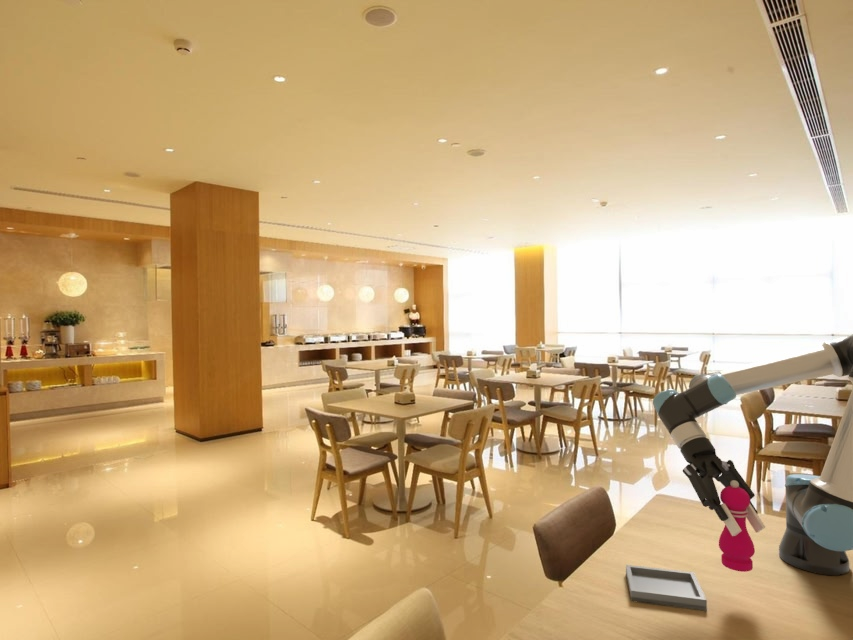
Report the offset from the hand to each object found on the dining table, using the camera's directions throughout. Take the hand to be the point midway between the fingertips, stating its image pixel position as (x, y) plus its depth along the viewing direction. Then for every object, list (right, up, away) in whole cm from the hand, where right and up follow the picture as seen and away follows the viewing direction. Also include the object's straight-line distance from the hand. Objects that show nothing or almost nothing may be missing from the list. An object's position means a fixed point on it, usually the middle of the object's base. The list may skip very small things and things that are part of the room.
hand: (748, 531), depth 116 cm
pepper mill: (-1, -10, +4) cm, 10 cm away
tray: (-16, -18, +8) cm, 25 cm away
